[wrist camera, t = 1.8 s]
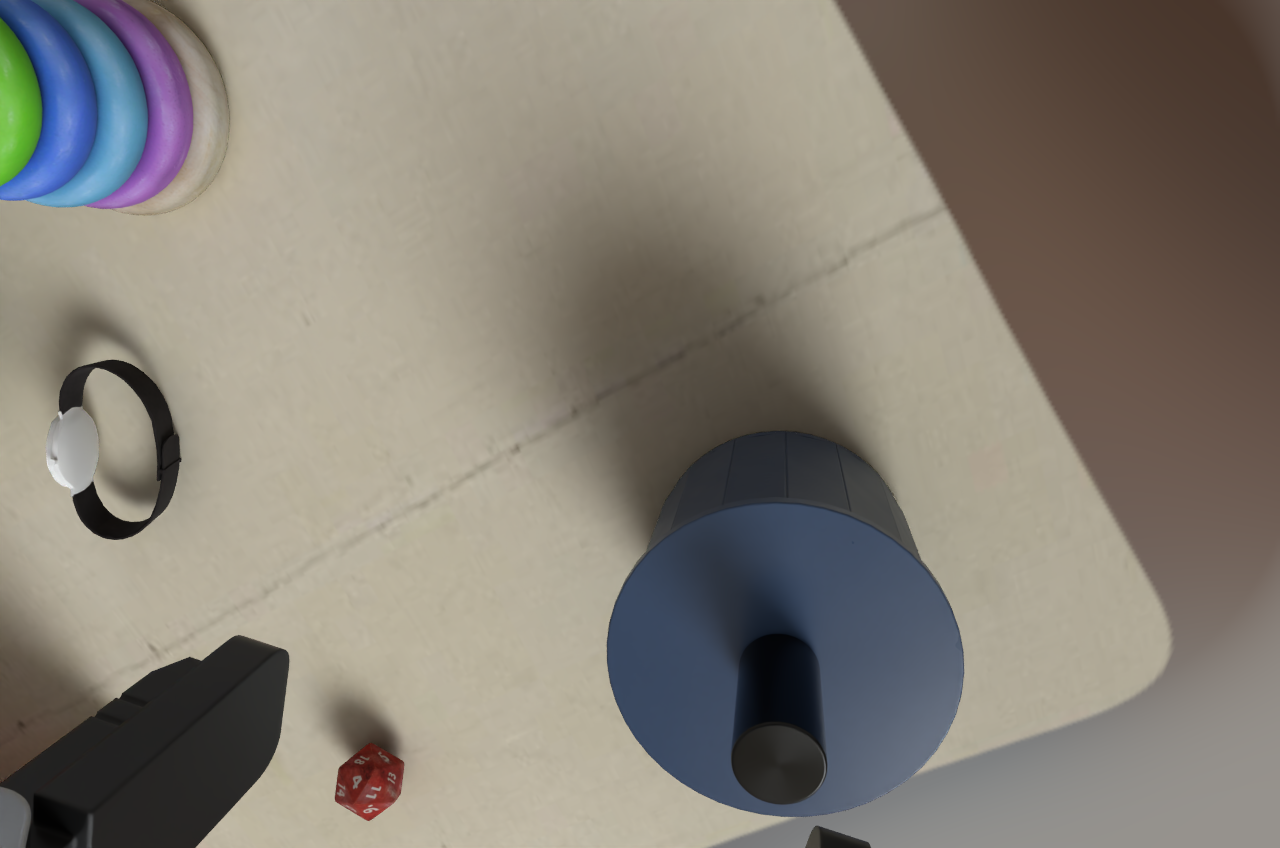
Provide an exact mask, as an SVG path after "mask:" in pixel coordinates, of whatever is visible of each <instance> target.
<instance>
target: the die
mask: <svg viewBox="0 0 1280 848" xmlns="http://www.w3.org/2000/svg"><path fill="white" fill-rule="evenodd" d="M403 772H404V762H403V761H402V760H400V759H399V758H397V757H395V756H394V755H392V754H390V753H388V752H387V751H385V750H383V749H382V748H380V747H378V746H376V745H375V744H373V743H369V744H368V745H366V746H365V747H364V748H363V749H361V750H360V751H359V752H358V753H356V754H355V755H354V756H353V757H351V758H350V759H349V760H348V761H346V762H345V763H344V764H343V765H342V766H340V767H339V770H338V777H337V785H336V793H335V801H336V802H337V803H339V804H340V805H342V806H344V807H345V808H347V809H349V810H350V811H352V812H354V813H355V814H357V815H359V816H360V817H362V818H364V819H365V820H367V821H370V820H372V819H373V818H374V817H376V816H377V815H378V814H380V813H381V812H383V811H384V810H385V809H387V808H388V807H389V806H391V805H392V804H393V803H394V802H395V801H396V800H397V798H398V797H399V795H400V794H401V787H402V779H403Z"/></svg>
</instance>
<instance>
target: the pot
mask: <svg viewBox="0 0 1280 848" xmlns="http://www.w3.org/2000/svg"><path fill="white" fill-rule="evenodd" d="M767 497H784V498H800V499H806V500H812V501H817V502H823V503H826V504H830V505H833V506H836V507H839V508H843V509H846V510H849V511H851V512H853V513H855V514H858V515H860V516H862V517H864V518H866V519H869V520H871V521H872V522H874V523H876V524H877V525H879V526H880V527H882V528H884V529H885V530H887V531H889V532H890V533H892V534H893V535H894V536H895V537H897V538H898V539H899V540H900V541H902V542H903V543H904V544H905V545H907V546H908V547H909V548H910V549H911V550H912V551H913V552H914V553H915V554H916V555H917V556H918V557H919V558H920V556H919V553H918V550H917V548H916V545H915V542H914V540H913V537H912V534H911V532H910V529H909V526H908V524H907V521H906V519H905V516H904V514H903V512H902V510H901V509H900V507H899V506H898V504H897V502H896V500H895V498H894V497H893V495H892V493H891V491H890V489H889V488H888V487H887V485H886V484H885V482H884V481H883V480H882V478H881V477H880V475H879V474H878V473H877V472H876V471H874V470H873V469H872V468H871V466H870V465H868V464H867V463H866V462H865V461H863V460H862V459H861V458H860V457H858V456H857V455H856V454H854V453H852V452H851V451H849V450H848V449H846V448H844V447H843V446H840V445H838V444H836V443H834V442H831V441H829V440H827V439H824V438H820V437H817V436H814V435H810V434H804V433H799V432H789V431H771V432H760V433H755V434H750V435H745V436H742V437H739V438H736V439H733V440H730V441H728V442H726V443H724V444H722V445H720V446H718V447H716V448H714V449H712V450H711V451H709V452H708V453H706V454H705V455H704V456H702V457H701V458H700V459H698V460H697V461H696V462H695V463H693V465H691V467H690V468H689V469H688V470H687V471H686V472H685V473H684V475H683V476H682V477H681V478H680V479H679V481H678V482H677V484H676V486H675V487H674V489H673V490H672V492H671V493H670V495H669V496H668V498H667V499H666V500H665V503H664V505H663V508H662V510H661V513H660V516H659V518H658V521H657V524H656V526H655V529H654V532H653V534H652V537H651V539H650V542H649V545H648V547H647V550H648V549H649V547H650V546H651V545H653V544H654V543H655V542H656V541H657V540H658V539H659V538H661V537H662V536H663V535H664V534H665V533H666V532H668V531H669V530H671V529H672V528H674V527H675V526H677V525H679V524H680V523H682V522H683V521H685V520H686V519H689V518H691V517H693V516H695V515H697V514H699V513H701V512H703V511H705V510H708V509H711V508H714V507H717V506H720V505H723V504H727V503H731V502H736V501H741V500H746V499H752V498H767ZM647 550H646V551H647ZM920 559H921V558H920Z"/></svg>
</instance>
